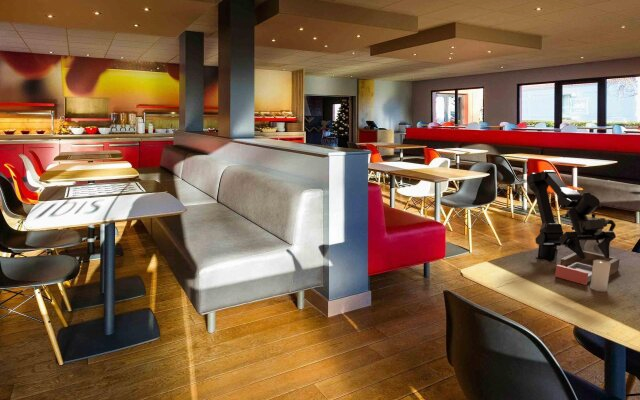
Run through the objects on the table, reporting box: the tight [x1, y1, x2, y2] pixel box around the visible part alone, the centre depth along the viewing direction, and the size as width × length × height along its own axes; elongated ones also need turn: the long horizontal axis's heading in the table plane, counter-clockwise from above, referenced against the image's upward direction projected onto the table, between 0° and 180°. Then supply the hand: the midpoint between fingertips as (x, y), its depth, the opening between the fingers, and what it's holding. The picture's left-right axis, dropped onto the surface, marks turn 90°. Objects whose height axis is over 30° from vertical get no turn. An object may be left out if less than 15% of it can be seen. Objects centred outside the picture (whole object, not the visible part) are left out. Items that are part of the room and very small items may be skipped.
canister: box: [589, 260, 611, 293], centre depth 162 cm, size 5×5×10 cm
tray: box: [554, 262, 593, 286], centre depth 174 cm, size 11×17×4 cm, turn 130°
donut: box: [584, 240, 612, 256], centre depth 193 cm, size 10×4×10 cm, turn 40°
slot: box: [559, 251, 621, 277], centre depth 180 cm, size 15×18×5 cm
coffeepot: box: [580, 212, 617, 252], centre depth 201 cm, size 15×9×18 cm, turn 70°
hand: (596, 258), depth 164 cm, fingers open, 9 cm apart
